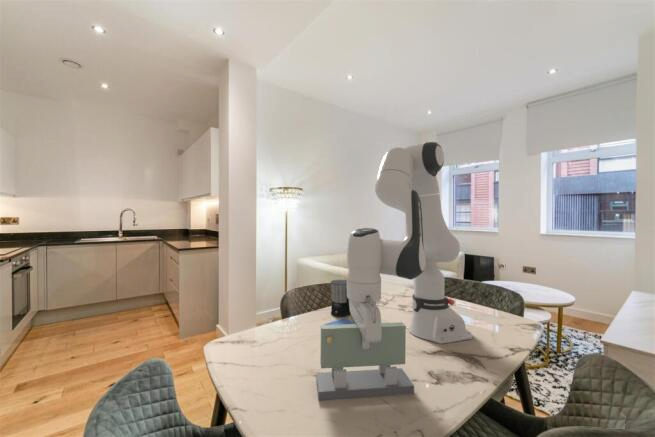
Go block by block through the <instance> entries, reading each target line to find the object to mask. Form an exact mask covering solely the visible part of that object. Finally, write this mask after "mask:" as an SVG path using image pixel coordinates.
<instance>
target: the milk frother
mask: <svg viewBox="0 0 655 437" xmlns="http://www.w3.org/2000/svg"><path fill="white" fill-rule="evenodd" d="M346 283H347V279H333V280H331V281H330V285H331V312H330V314H331V316H333V317H336V318H337V317H339V318H346V317H349V316H350V315H351V313H350V309H349V299H348V298H347V289H346Z"/></svg>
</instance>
